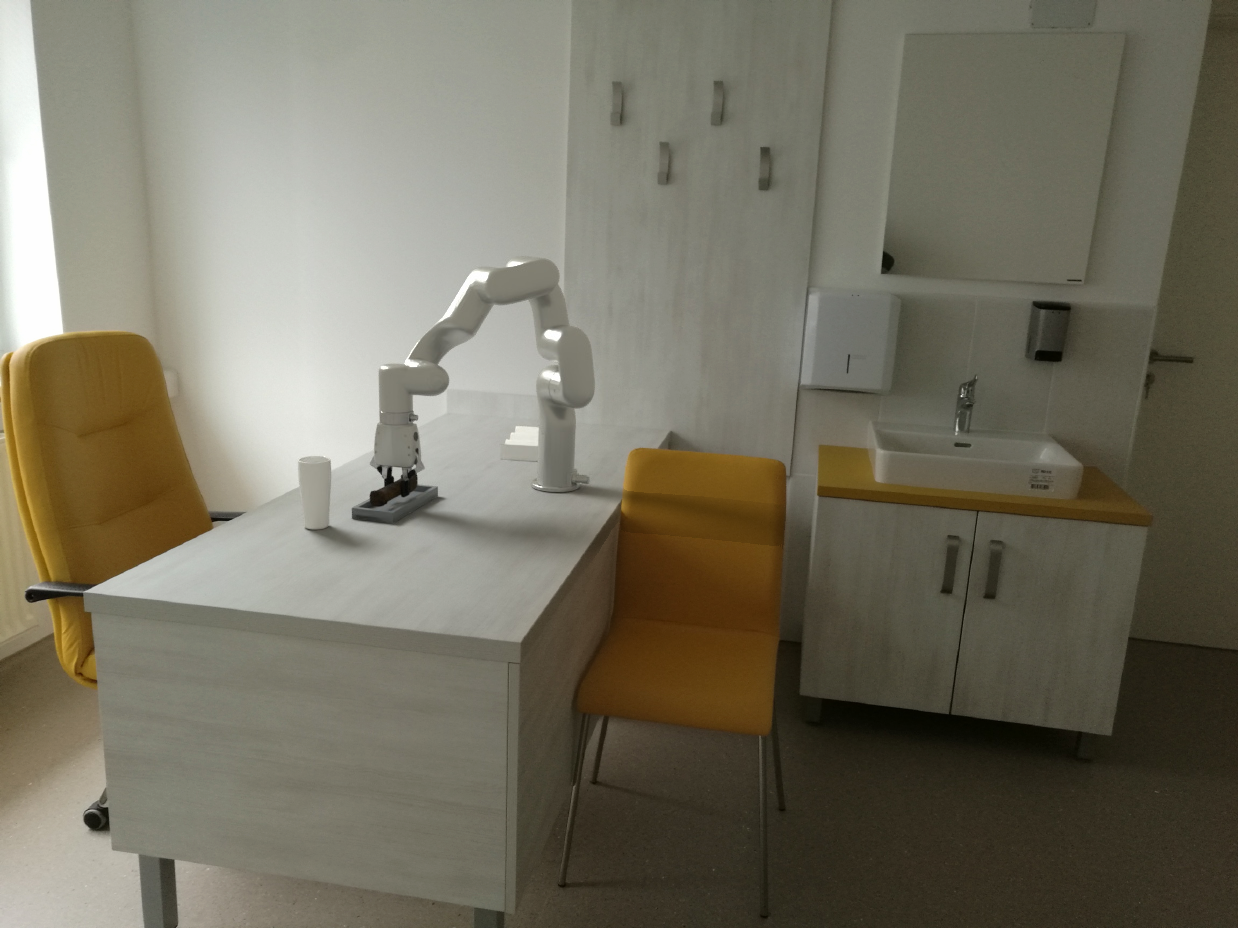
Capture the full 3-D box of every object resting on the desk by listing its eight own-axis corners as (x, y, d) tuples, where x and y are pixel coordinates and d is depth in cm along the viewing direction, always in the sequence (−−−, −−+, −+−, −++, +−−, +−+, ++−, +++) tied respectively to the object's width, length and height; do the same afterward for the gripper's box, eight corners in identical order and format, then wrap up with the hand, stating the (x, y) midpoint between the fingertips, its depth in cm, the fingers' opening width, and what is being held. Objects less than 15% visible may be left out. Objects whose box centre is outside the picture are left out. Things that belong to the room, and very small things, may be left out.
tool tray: (437, 496, 230) (437, 486, 230) (393, 523, 207) (392, 512, 207) (400, 492, 232) (400, 482, 232) (351, 518, 210) (351, 507, 209)
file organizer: (557, 438, 305) (558, 423, 303) (545, 463, 270) (545, 446, 269) (517, 436, 305) (518, 421, 304) (500, 461, 271) (500, 444, 270)
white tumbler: (303, 532, 198) (300, 464, 195) (297, 523, 204) (295, 457, 201) (335, 529, 201) (333, 461, 198) (329, 520, 207) (327, 454, 204)
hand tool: (384, 508, 210) (384, 488, 209) (368, 506, 211) (368, 486, 210) (427, 488, 227) (427, 470, 226) (412, 486, 229) (412, 468, 227)
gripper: (436, 418, 217) (437, 494, 221) (371, 412, 220) (373, 487, 225) (422, 424, 210) (423, 502, 214) (355, 418, 213) (357, 495, 217)
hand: (397, 494), depth 219 cm, fingers closed on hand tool, 3 cm apart
